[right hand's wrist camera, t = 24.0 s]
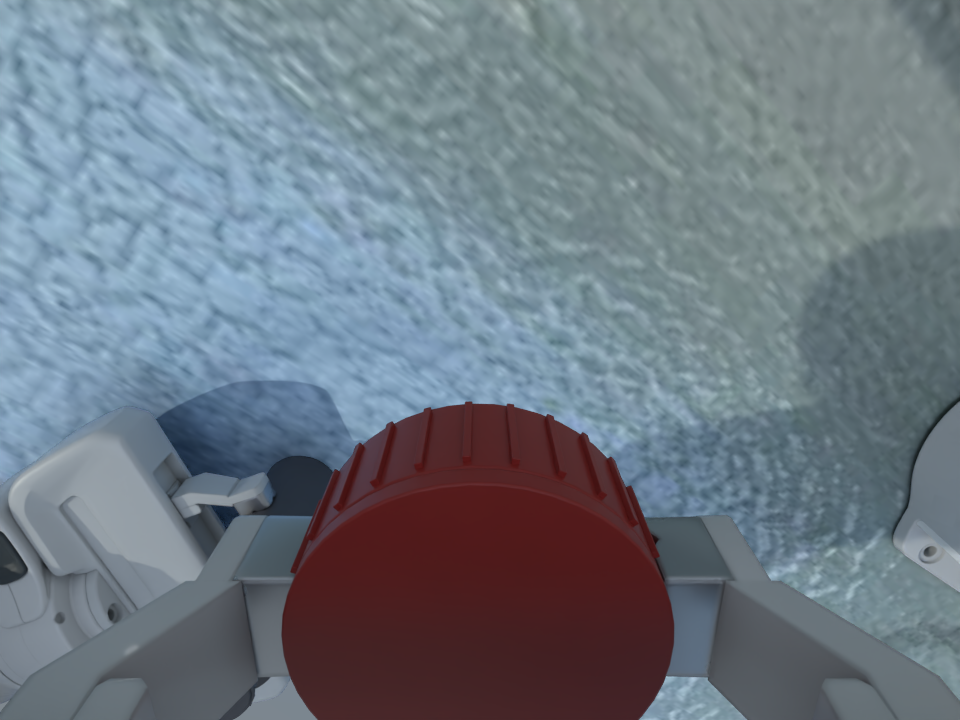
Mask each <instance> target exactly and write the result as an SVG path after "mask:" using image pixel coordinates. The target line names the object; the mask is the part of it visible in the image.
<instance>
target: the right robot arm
mask: <svg viewBox="0 0 960 720" xmlns="http://www.w3.org/2000/svg"><path fill="white" fill-rule="evenodd" d="M312 517H313V516H272V515H270V516H266V515H240V516H238V517H236V518H234V519H233V520H232V522H231V523H230V525H229V527H228V528H227V530H226V532H225V533H224V535H223V536H222V538H221V540H220V541H219V543H218V545H217V546H216V548H215V549H214V551H213V553H212V554H211V556H210V558H209V559H208V561H207V563H206V564H205V566H204V567H203V569H202V571H201V572H200V574H199V576H198V577H197V579H196V580H195V581H185V582H183V583H182V584H180V585H178V586H177V587H175V588H173V589H172V590H170V591H168V592H167V593H165V594H163V595H162V596H160V597H158V598H157V599H155V600H154V601H152V602H150V603H149V604H147V605H145V606H144V607H142V608H140V609H139V610H137V611H135V612H134V613H132V614H130V615H129V616H127V617H125V618H124V619H122V620H121V621H119V622H117V623H116V624H114V625H112V626H111V627H109V628H107V629H106V630H104V631H102V632H101V633H99V634H97V635H96V636H94V637H92V638H91V639H89V640H87V641H86V642H84V643H83V644H81V645H79V646H78V647H76V648H74V649H73V650H71V651H69V652H68V653H66V654H64V655H63V656H61V657H59V658H58V659H56V660H54V661H53V662H51V663H49V664H48V665H46V666H45V667H43V668H41V669H40V670H38V671H36V672H35V673H33V674H31V675H30V676H29V677H28V678H27V679H26V681H25V682H24V683H23V684H22V686H21V687H20V688H19V689H18V691H17V692H16V693H15V694H14V696H13V697H12V698H11V699H10V701H9V702H8V703H7V704H6V706H5V707H4V708H3V709H2V711H1V712H0V720H219V719H220V718H221V717H222V716H223V715H224V714H225V713H226V712H227V711H228V710H229V709H230V708H231V707H232V706H233V705H234V704H235V703H236V702H237V701H238V700H239V699H240V698H241V697H242V696H243V695H244V694H245V693H246V692H247V691H248V690H249V689H250V688H251V687H252V686H253V685H254V684H255V683H256V682H257V681H258V677H286V676H289V672H288V669H287V665H286V662H285V659H284V654H283V645H282V637H281V631H282V614H283V610H284V606H285V602H286V597H287V594H288V591H289V589H290V586H291V584H292V581H293V579H294V576H295V574H294V573H291V572H290V571H291V567H292V565H293V562H294V560H295V558H296V555H297V553H298V550H299V548H300V546H301V543H302V541H303V538H304V536H305V533H306V531H307V529H308V526H309V524H310V521H311V519H312ZM644 518H645V520H646V523H647V525H648V528H649V530H650V533H651V535H652V538H653V540H654V543H655V545H656V547H657V550H658V552H659V555H660V557H658V558H655V561H656V563H657V566H658V569H659V571H660V574H661V576H662V579H663V581H664V584H665V587H666V590H667V593H668V596H669V599H670V601H671V606H672V612H673V618H674V647H673V652H672V657H671V663H670V666H669V669H668V672H667V675H666V676H679V677H708V681H709V682H710V683H711V684H712V685H713V686H714V687H715V688H716V689H717V690H718V691H719V692H720V693H721V694H722V695H723V696H724V697H725V698H726V699H727V700H728V701H729V702H730V703H731V704H732V705H733V706H734V707H735V708H736V709H737V710H738V711H739V712H740V713H741V714H742V715H743V716H744V717H745V718H746V719H747V720H960V701H959V700H958V699H957V697H956V696H955V695H954V694H953V692H952V691H951V690H950V689H949V688H948V686H947V685H946V684H945V683H944V681H943V680H942V679H941V678H940V676H938V675H936V674H935V673H933V672H931V671H930V670H928V669H926V668H925V667H923V666H921V665H920V664H918V663H916V662H915V661H913V660H911V659H910V658H908V657H906V656H905V655H903V654H901V653H900V652H898V651H896V650H895V649H893V648H891V647H890V646H888V645H886V644H885V643H883V642H881V641H880V640H878V639H876V638H875V637H873V636H871V635H870V634H868V633H866V632H865V631H863V630H861V629H860V628H858V627H856V626H855V625H853V624H851V623H850V622H848V621H846V620H845V619H843V618H841V617H840V616H838V615H836V614H835V613H833V612H831V611H830V610H828V609H827V608H825V607H823V606H822V605H820V604H818V603H817V602H815V601H813V600H812V599H810V598H808V597H807V596H805V595H803V594H802V593H800V592H798V591H797V590H795V589H793V588H792V587H790V586H788V585H787V584H785V583H783V582H782V581H771V580H770V578H769V577H768V575H767V573H766V572H765V570H764V569H763V567H762V566H761V564H760V562H759V561H758V559H757V558H756V556H755V555H754V553H753V551H752V550H751V548H750V547H749V545H748V543H747V542H746V540H745V539H744V537H743V536H742V534H741V532H740V531H739V529H738V528H737V526H736V525H735V523H734V521H733V520H732V518H730V517H729V516H727V515H709V516H696V517H644ZM893 544H894V546H895V547H896V548H897V549H898V550H899V551H900V552H902V553H903V554H904V555H905V556H907V557H908V558H909V559H911V560H912V561H914V562H915V563H917V564H918V565H920V566H921V567H923V568H924V569H926V570H927V571H928V572H930V573H931V574H933V575H934V576H936V577H937V578H939V579H940V580H942V581H943V582H945V583H946V584H948V585H949V586H951V587H952V588H953V589H955V590H956V591H958V592H959V593H960V401H959V402H958V403H957V404H956V405H955V406H954V407H952V408H951V409H950V410H949V411H948V412H947V413H946V414H945V415H944V416H943V418H942V419H941V420H940V421H939V422H938V423H937V425H936V426H935V427H934V429H933V430H932V431H931V433H930V434H929V436H928V437H927V439H926V441H925V442H924V444H923V446H922V448H921V450H920V452H919V455H918V457H917V460H916V463H915V466H914V470H913V475H912V482H911V494H910V501H909V505H908V508H907V510H906V511H905V513H904V515H903V516H902V518H901V520H900V522H899V524H898V526H897V528H896V530H895V532H894V535H893Z"/></svg>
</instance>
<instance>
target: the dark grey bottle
mask: <svg viewBox="0 0 960 720" xmlns="http://www.w3.org/2000/svg"><path fill="white" fill-rule="evenodd" d="M331 475H332V471H331V470H330V469H329V468H328V467H327V466H326V465H324V464H323V463H321V462H320V461H318V460H315V459H313V458H309V457H304V456H294V457H288V458H285V459H283V460H281V461H279V462H277V463H276V464H275V465H274V466H273V467H272V468H271V469H270V470H269V472H268V474H267V477H268V479H269V480H270V482H271V484H272V486H273V487H274V489H275V491H276V493H277V494H276V496H275V497H273V502H272V504H271V505H270V506H269V507H268V508H266V509H264V510H262V511H253V513H252V514H250V515H266V516H270V515H272V516H313V514H314V512H315V509H316V507H317V504H318V502H319V500H320V499H321V500H322V497H323V495H324V493H325V490H326V488H327V485H328V483H329V480H330V478H331ZM269 679H270V677H258V681H257V682H256V683H255V684H254V685H253V686H252V687H251V688H250V689H249V690H248V691H247V692H246V693H245V694H244V695H243V696H242V697H241V698H240V699H239V700H238V701H237V702H236V703H235V704H234V705H233V706H232V707H231V708H230V709H229V710H228V711H227V712H226V713H225V714H224V715H223V716H222V717H221V718H220V719H219V720H233V719H235V718H237V717H238V716H240V715H241V714H242V713H243V712H244V711H245V710H246V709H247V708H248V707H249V706H251V704H252V702H253V699H254V697H255V689H256V688H258V687H260V686H261V685H263V684H264V683H265V682H267V681H268V680H269Z"/></svg>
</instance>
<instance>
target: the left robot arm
mask: <svg viewBox="0 0 960 720" xmlns="http://www.w3.org/2000/svg"><path fill="white" fill-rule="evenodd" d="M276 494H277V493H276V491H275V489H274V487H273V486H272V484H271V482H270V480H269V479H268V477H267V475H266V474H265V473H264V472H261V473H258V474H255V475H252V476H249V477H246V478H243V479H241V480H239V478H235V477H230V476H224V475H218V474H213V473H207V472H205V473H202V474H199V475H196V476H193V477H192V475H191V474H190V472H189V470H188V469H187V467H186V466H185V464H184V463H183V461H182V460H181V458H180V456H179V455H178V453H177V452H176V450H175V449H174V447H173V445H172V444H171V442H170V441H169V439H168V438H167V436H166V435H165V433H164V431H163V430H162V428H161V427H160V425H159V424H158V422H157V420H156V419H155V417H154V416H153V414H152V413H151V412H149V411H146V410H143V409H140V408H136V407H131V406H125V407H122V408H119V409H116V410H114V411H112V412H110V413H107V414H105V415H103V416H101V417H99V418H97V419H95V420H93V421H91V422H90V423H88V424H86V425H84V426H83V427H81V428H79V429H78V430H76V431H75V432H73V433H72V434H70V435H69V436H68V437H66V438H65V439H64V440H62V441H61V442H60V443H58V444H57V445H56V446H54V447H53V448H52V449H50V450H49V451H48V452H46V453H45V454H44V455H43V456H42V457H40V458H39V459H38V460H37V461H35V462H33V463H32V464H30V465H28V466H27V467H25V468H23V469H22V470H20V471H19V472H17V473H16V474H14V475H13V476H12V477H10V478H9V479H8V480H6V481H5V482H4V483H3V484H1V485H0V704H2V703H4V702H6V701H8V700H10V699H11V698H12V697H13V696H14V694H15V693H16V692H17V691H18V689H19V688H20V687H21V686H22V684H23V683H24V682H25V681H26V679H27V678H28V677H29V676H30V675H31V674H33V673H35V672H36V671H38V670H40V669H41V668H43V667H45V666H46V665H48V664H49V663H51V662H53V661H54V660H56V659H58V658H59V657H61V656H63V655H64V654H66V653H68V652H69V651H71V650H73V649H74V648H76V647H78V646H79V645H81V644H83V643H84V642H86V641H87V640H89V639H91V638H92V637H94V636H96V635H97V634H99V633H101V632H102V631H104V630H106V629H107V628H109V627H111V626H112V625H114V624H116V623H117V622H119V621H121V620H122V619H124V618H125V617H127V616H129V615H130V614H132V613H134V612H135V611H137V610H139V609H140V608H142V607H144V606H145V605H147V604H149V603H150V602H152V601H154V600H155V599H157V598H158V597H160V596H162V595H163V594H165V593H167V592H168V591H170V590H172V589H173V588H175V587H177V586H178V585H180V584H182V583H183V582H185V581H195V580H196V579H197V577H198V576H199V574H200V572H201V571H202V569H203V567H204V566H205V564H206V563H207V561H208V559H209V558H210V556H211V554H212V553H213V551H214V549H215V548H216V546H217V545H218V543H219V541H220V540H221V538H222V536H223V535H224V533H225V532H226V528H225V526H224V525H223V523H222V522H221V520H220V519H219V517H218V516H217V514H216V512H215V511H214V509H213V508H212V506H211V505H220V506H231V507H235V509H236V510H237V512H238V513H239V515H250V514H252V513H253V511H262V510H264V509H266V508H268V507H269V506H270V505H271V504H272V502H273V497H275V496H276ZM289 681H290V676H286V677H270V679H269V680H268V681H267V682H265V683H264V684H263V685H261V686H260V687H258V688H256V689H255V697H254V699H253V702H252V703H256V702H261V701H265V700H269V699H272V698H275V697H277V696H279V695H280V694H281V693H282V692H283V690H284V689H285V688H286V686H287V684H288V682H289Z"/></svg>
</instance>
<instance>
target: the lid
mask: <svg viewBox="0 0 960 720" xmlns="http://www.w3.org/2000/svg"><path fill="white" fill-rule="evenodd" d="M658 557H660V555H659V552H658V550H657V547H656V545H655V543H654V540H653V538H652V535H651V533H650V530H649V528H648V525H647V523H646V520H645V518H644V515H643V513H642V510H641V508H640V505H639V503H638V501H637V498H636V496H635V493H634V491H633V488H632V486H628V487H626V486H625V484H624V482H623V480H622V478H621V476H620V473H619V470H618V468H617V465H616V463H615V460H614V459H613V458H612V457H610V458H607V457H606V456H605V455H604V454H603V453H602V452H601V451H600V450H599V449H598V448H597V447H596V446H595V445H593V444H592V443H591V442H590V441H589V438H588V435H586V434H585V433H583V432H582V433H581V434H579V433H578V432H576V431H574V430H572V429H571V428H569V427H567V426H565V425H563V424H562V423H560V422H558V421H555V420H554V417H553V416H551V415H549V414H547V416H543V415H541V414H538V413H535V412H531V411H527V410H524V409H520V408H516V407H514V405H513V404H507V406H503V405H496V404H472V402H465V404H463V405H453V406H446V407H442V408H437V409H432V410H431V407H429V408H426V409H424V412H422V413H419V414H416V415H413V416H410V417H408V418H405V419H403V420H401V421H399V422H397V423H395V424H394V423H393V422H390V423H388V424H387V425H386V428H385V429H384V430H382V431H381V432H379V433H378V434H376V435H375V436H374V437H372V438H371V439H369V440H368V441H367V442H366V443H365V444H363V445H362V444H361V443H359V444H358V445H356V446H355V449H354V452H353V454H352V456H351V457H350V458H349V460H348V461H347V462H346V463H345V464H344V465H343V467H342V468H341V470H340V471H338V470H336V469H335V470H334V472H333V473H332V475H331V478H330V480H329V483H328V485H327V488H326V490H325V493H324V495H323V497H322V500H321V499H320V500H319V502H318V504H317V507H316V509H315V512H314V514H313V517H312V519H311V521H310V524H309V526H308V529H307V531H306V533H305V536H304V538H303V541H302V543H301V546H300V548H299V550H298V553H297V555H296V558H295V560H294V562H293V565H292V567H291V571H290V572H291V573H294V574H295V576H294V579H293V581H292V584H291V586H290V589H289V591H288V594H287V597H286V602H285V606H284V610H283V614H282V631H281V637H282V645H283V654H284V659H285V662H286V665H287V669H288V672H289V676H290V678H291V680H292V682H293V684H294V686H295V688H296V690H297V692H298V694H299V696H300V697H301V699H302V700H303V702H304V703H305V705H306V706H307V708H308V709H309V710H310V712H311V713H312V714H313V715H314V716H315V717H316V718H317V719H318V720H639V719H640V718H641V717H642V715H643V714H644V713H645V711H646V710H647V709H648V708H649V706H650V705H651V704H652V702H653V701H654V699H655V697H656V696H657V694H658V692H659V690H660V688H661V686H662V685H663V683H664V680H665V677H666V675H667V672H668V669H669V666H670V663H671V657H672V652H673V647H674V618H673V612H672V606H671V601H670V599H669V596H668V593H667V590H666V587H665V584H664V581H663V579H662V576H661V574H660V571H659V569H658V566H657V563H656V561H655V558H658Z"/></svg>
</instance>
